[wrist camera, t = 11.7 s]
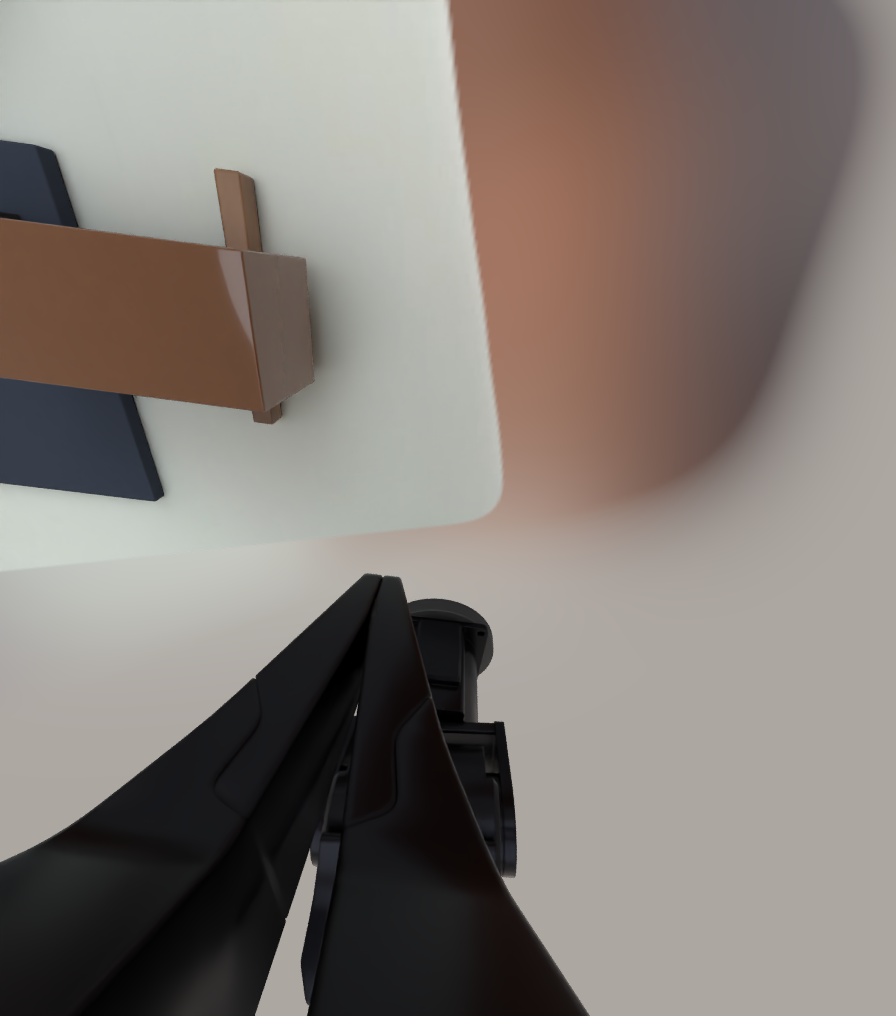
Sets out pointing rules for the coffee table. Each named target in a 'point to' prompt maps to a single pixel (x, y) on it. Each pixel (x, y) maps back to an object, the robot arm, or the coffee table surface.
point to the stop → (241, 233)
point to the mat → (61, 409)
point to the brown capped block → (152, 316)
